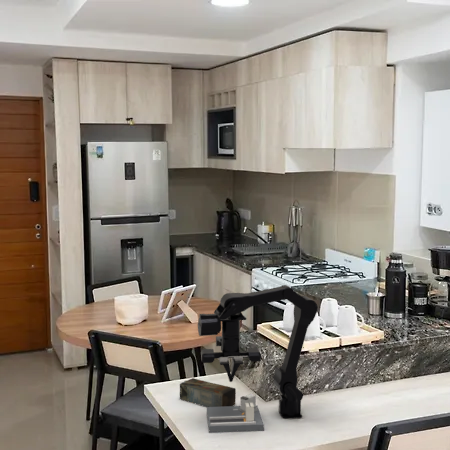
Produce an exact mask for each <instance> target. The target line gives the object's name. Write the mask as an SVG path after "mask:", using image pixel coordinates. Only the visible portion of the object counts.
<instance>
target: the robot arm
mask: <svg viewBox="0 0 450 450" xmlns="http://www.w3.org/2000/svg"><path fill="white" fill-rule="evenodd" d="M284 300H286V301H288V302H290V303H291V304H293V305H294V306H293V326H292V329H291V333H290V337H289V342H288V345H287V348H286V353H285V356H284V359H283V363H282V364H281V366H280V367H278V366H275V369H274V374H273V376H272V380H273V385H274V387H276V388H277V390H278V391H279V392H280V393H281V394H280V399H278V412H279V414H280V416H281V418H282V419H296V418H297V419H299V418H302V417H303V415H302V411H301V410H302V409H301V408H302V400H303V396H304V393H303V392H302V391H301V390H300V389H299V388H298V365H299V361H300V357H301V353H302V350H303V347H304V343H305V339H306V334H307V332H308V328H309V326H310V325H311V324H312V323H313V321H314V320H315V318H316V315H317V313H318V311H319V306H318V304H317V302H316V301H314V299H312V298H310V297H308V296H306V295H300V294H299V293H298V292H296V291H295V290H294V289H293V288H292V287H290V286H289V285H287V284H283V285H281V286H280V285H279V286H277V287H272V288H266V289H262V290H258V291H253V292H248V293H247V292H245V293H243V292H227V293H225V294H223V295H222V296H221V298H220V303H219V304H218V306H216V309H214V311H213V313H199V314H198V315H199V316H198V320H197V321H198V322H197V331H198V335H199V337H204V336H205V337H207V336H208V337H209V336H215V346H216V347H220V351H217V352H215V350H214V349H213V348H207V349H206V348H205V349H202V350H201V352H200V355H201V358H200V359H201V363H203V364H209V363H210V364H212V363H213V362H214V361H215V359H218V361H219V365H220V366H223V367H224V370H225V372H226V374H227V377H228V381H229V382H230V383H232V382H233V381H234V378H235V375H236V373H237V372H238V371H237V370H238V369H239V367H240V365H243V364H244V361H243V359H245V358H247V359H248V360H249V361H250V362H251V363H253V362H262V355H261V350H260V349H259V348H258V347H247V348H246V351H241V349H240V348H241V340H240V339H241V321H246V320H247V317H246V316H245V315H243V312H245V311H246V310H248V309H249V308H252V307H255V306H261V305H265V304H270V303H274V302H278V301H279V302H280V301H284ZM220 333H221V335H219V334H220ZM218 335H219V336H218ZM229 359H232V360H231V367H230V361H229Z"/></svg>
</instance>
